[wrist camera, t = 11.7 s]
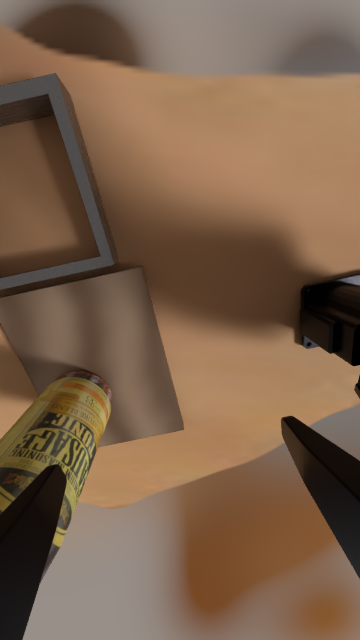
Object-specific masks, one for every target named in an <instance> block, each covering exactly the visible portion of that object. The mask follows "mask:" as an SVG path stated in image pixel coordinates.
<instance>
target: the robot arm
mask: <svg viewBox="0 0 360 640" xmlns="http://www.w3.org/2000/svg"><path fill="white" fill-rule="evenodd" d="M308 289H309V292H308V293H307V290H308ZM300 333H301V334H302V346H304V347H305V348H307V349H309V348H314V347H319V346H320V347H321V348H323V349H324V350H325V351H327V352H328V353H330V354H332V353H334V354H336V355H337V356H339V357H340V358H342V359H343V360H345V361H346V362H348V363H349V364H351V365H352V366H358V365H360V274H356V275H351V276H347V277H342V278H337V279H333V280H328V281H323V282H319V283H314V284H309V285H306V286H304V287H303V288H302V291H301V310H300ZM308 342H309V343H308ZM307 343H308V344H307ZM306 344H307V345H306ZM354 390H355V392H356V394H357V395H358V397H359V398H360V376H359V380H358V383H357V384H356V385H355V389H354ZM281 428H282V436H283V439H284V441H285V443H286V445H287V447H288V450H289V452H290V454H291V456H292V458H293V460H294V462H295V465H296V467H297V469H298V471H299V473H300V475H301V478H302V479H303V481H304V483H305V485H306V487H307V489H308V491H309V492H310V494H311V496H312V497H313V499H314V501H315V503H316V504H317V506H318V508H319V510H320V511H321V513H322V515H323V516H324V518H325V520H326V522H327V523H328V525H329V527H330V529H331V530H332V532H333V534H334V535H335V537H336V539H337V540H338V542H339V544H340V545H341V547H342V549H343V551H344V553H345V554H346V556H347V558H348V560H349V561H350V563H351V565H352V566H353V568H354V570H355V572H356V573H357V575H358V577H359V578H360V461H359V460H357V459H356V458H355V457H353V456H352V455H350V454H348V453H347V452H345V451H344V450H343V449H341V448H340V447H338V446H337V445H335V444H334V443H332V442H331V441H329V440H327V439H326V438H324V437H323V436H322V435H320V434H319V433H317V432H316V431H314V430H313V429H311V428H310V427H308V426H307V425H305V424H304V423H302V422H301V421H299V420H298V419H296V418H295V417H293V416H287V417H283V418H282V419H281ZM66 485H67V477H66V475H65V473H64V472H63V470H62V468H61V466H60V465H59V464H54V465H49V466H47V467H46V468H45V469H44V470H43V471H42V472H41V473H40V474H39V475H38V476H37V477H36V478H35V479H34V480H33V481H32V482H31V483H30V484H29V485H28V486H27V487H26V488H25V489H24V490H23V491H22V492H21V493H20V494H19V495H18V497H17V498H16V499H15V500H14V501H13V502H12V503H11V504H10V505H9V506H8V507H7V508H6V509H5V510H4V511H3V512H2V513H1V514H0V640H22V639H23V636H24V632H25V629H26V626H27V623H28V620H29V616H30V613H31V610H32V607H33V604H34V601H35V597H36V594H37V591H38V588H39V584H40V581H41V578H42V575H43V572H44V568H45V565H46V562H47V559H48V555H49V552H50V549H51V546H52V543H53V539H54V536H55V532H56V529H57V525H58V520H59V516H60V512H61V507H62V503H63V498H64V494H65V489H66Z"/></svg>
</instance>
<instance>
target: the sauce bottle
mask: <svg viewBox="0 0 360 640" xmlns="http://www.w3.org/2000/svg"><path fill="white" fill-rule="evenodd" d="M112 402H113V398H112V393H111V390H110V388H109V385H108V384H106V382H105V381H104V380H103V379H101V378H100V377H98V376H96V375H94V374H92V373H89V372H86V371H75V372H71V373H67V374H63V375H62V376H60V377H58V378H57V379H56V380H55V381H54V382H53V383H51V384H50V385H49V386H48V387H47V388H46V389H45V390H44V391H43V392H42V393H41V394H40V396H39V397H38V398H37V399H36V400H35V401H34V402H33V404H32V405H31V406H30V407H29V408H28V409H27V410H26V411H25V413H24V414H23V415H22V416H21V417H20V418H19V419H18V420H17V422H16V423H15V424H14V425H13V426H12V427H11V428H10V430H9V431H8V432H7V433H6V434H5V435H4V436H3V437H2V438H1V440H0V514H1V513H2V512H3V511H4V510H5V509H6V508H7V507H8V506H9V505H10V504H11V503H12V502H13V501H14V500H15V499H16V498H17V497H18V495H19V494H20V493H21V492H22V491H23V490H24V489H25V488H26V487H27V486H28V485H29V484H30V483H31V482H32V481H33V480H34V479H35V478H36V477H37V476H38V475H39V474H40V473H41V472H42V471H43V470H44V469H45V468H46V467H47V466H49V465H54V464H59V465H60V466H61V468H62V470H63V472H64V473H65V475H66V477H67V485H66V489H65V494H64V498H63V503H62V507H61V512H60V516H59V520H58V525H57V529H56V532H55V536H54V539H53V543H52V546H51V549H50V552H49V555H48V559H47V562H46V565H45V568H44V572H43V575H42V578H41V580H42V579H43V577H44V575H45V573H46V571H47V570H48V568H49V566H50V564H51V563H52V561H53V559H54V557H55V555H56V554H57V552H58V550H59V548H60V546H61V544H62V541H63V539H64V536H65V533H66V531H67V528H68V526H69V524H70V521H71V517H72V515H73V512H74V509H75V507H76V504H77V501H78V499H79V496H80V494H81V492H82V488H83V486H84V483H85V480H86V478H87V475H88V473H89V470H90V467H91V465H92V462H93V459H94V457H95V454H96V451H97V448H98V446H99V443H100V440H101V438H102V435H103V433H104V430H105V427H106V424H107V422H108V419H109V416H110V413H111V406H112ZM40 582H41V581H40Z"/></svg>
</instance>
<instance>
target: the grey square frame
mask: <svg viewBox="0 0 360 640" xmlns="http://www.w3.org/2000/svg"><path fill="white" fill-rule="evenodd" d="M53 114H55V116H56V119H57V122H58V126H59V129H60V132H61V135H62V138H63V141H64V144H65V147H66V150H67V153H68V157H69V160H70V163H71V166H72V169H73V172H74V175H75V178H76V181H77V184H78V188H79V191H80V194H81V197H82V200H83V203H84V206H85V209H86V212H87V215H88V219H89V222H90V225H91V228H92V231H93V234H94V237H95V240H96V243H97V246H98V250H99V253H100V256H99V257H95V258H90V259H86V260H81V261H76V262H72V263H67V264H63V265H58V266H54V267H49V268H45V269H40V270H35V271H31V272H26V273H22V274H17V275H13V276H8V277H4V278H0V290H1V289H5V288H10V287H15V286H19V285H24V284H28V283H33V282H37V281H42V280H47V279H51V278H56V277H60V276H65V275H69V274H74V273H79V272H83V271H88V270H92V269H97V268H101V267H106V266H111V265H115V264H117V263H119V259H118V255H117V252H116V249H115V245H114V242H113V238H112V235H111V232H110V228H109V225H108V221H107V218H106V215H105V211H104V208H103V205H102V201H101V198H100V194H99V191H98V188H97V184H96V181H95V177H94V174H93V171H92V167H91V164H90V161H89V157H88V154H87V150H86V147H85V144H84V140H83V137H82V134H81V130H80V127H79V123H78V120H77V117H76V113H75V110H74V106H73V103H72V100H71V96H70V94H69V92H68V91H67V89H66V88H65V86H64V85H63V83H62V82H61V80H60V79H59V77H58V76H57V74H56V73H54V74H50V75H45V76H41V77H37V78H33V79H28V80H24V81H20V82H16V83H11V84H7V85H3V86H0V127H1V126H5V125H9V124H14V123H18V122H22V121H27V120H31V119H35V118H40V117H44V116H48V115H53Z"/></svg>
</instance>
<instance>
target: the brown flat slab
mask: <svg viewBox="0 0 360 640" xmlns="http://www.w3.org/2000/svg"><path fill="white" fill-rule="evenodd" d="M0 324H1V325H2V327H3V329H4V331H5V333H6V335H7V337H8V338H9V340H10V342H11V344H12V346H13V348H14V350H15V351H16V353H17V355H18V357H19V359H20V361H21V363H22V365H23V366H24V368H25V370H26V372H27V374H28V376H29V378H30V379H31V381H32V383H33V385H34V387H35V389H36V391H37V392H38V394H39V396H40V394H41V393H42V392H43V391H44V390H45V389H46V388H47V387H48V386H49V385H50V384H51V383H53V382H54V381H55V380H56V379H57V378H58V377H60V376H62V375H63V374H67V373H71V372H75V371H86V372H89V373H92V374H94V375H96V376H98V377H100V378H101V379H103V380H104V381H105V382H106V384H108V385H109V388H110V390H111V393H112V398H113V402H112V406H111V413H110V416H109V419H108V422H107V424H106V427H105V430H104V433H103V435H102V438H101V440H100V443H99V446H98V447H102V446H107V445H112V444H117V443H122V442H127V441H132V440H136V439H141V438H146V437H151V436H156V435H161V434H166V433H171V432H176V431H180V430H184V426H183V420H182V416H181V412H180V409H179V405H178V401H177V397H176V393H175V389H174V386H173V382H172V378H171V374H170V370H169V366H168V363H167V359H166V355H165V351H164V347H163V343H162V340H161V336H160V332H159V328H158V324H157V320H156V317H155V313H154V309H153V305H152V301H151V297H150V294H149V290H148V286H147V282H146V278H145V275H144V271H143V267H142V266H140V267H135V268H131V269H126V270H122V271H117V272H112V273H108V274H103V275H99V276H94V277H90V278H85V279H80V280H76V281H71V282H67V283H62V284H57V285H53V286H48V287H44V288H39V289H35V290H30V291H25V292H21V293H16V294H12V295H7V296H2V297H0Z"/></svg>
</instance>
